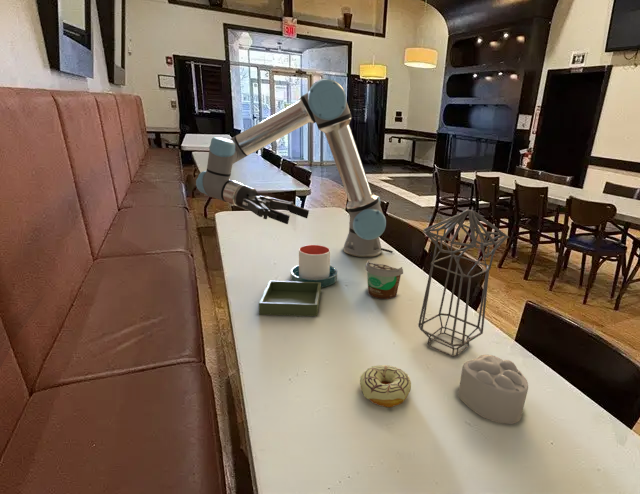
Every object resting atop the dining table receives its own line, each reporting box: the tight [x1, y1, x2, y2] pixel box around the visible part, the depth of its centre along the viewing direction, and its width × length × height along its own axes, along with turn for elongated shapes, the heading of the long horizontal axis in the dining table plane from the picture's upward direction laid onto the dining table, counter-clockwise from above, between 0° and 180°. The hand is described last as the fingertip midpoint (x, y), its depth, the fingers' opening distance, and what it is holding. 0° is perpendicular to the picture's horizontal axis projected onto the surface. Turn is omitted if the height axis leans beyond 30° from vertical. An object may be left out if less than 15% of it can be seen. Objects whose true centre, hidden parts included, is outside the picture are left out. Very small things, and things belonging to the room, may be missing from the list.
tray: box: [258, 280, 322, 317], centre depth 120 cm, size 16×16×4 cm
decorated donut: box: [359, 364, 412, 408], centre depth 85 cm, size 10×11×4 cm
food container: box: [364, 259, 404, 300], centre depth 128 cm, size 12×6×10 cm, turn 68°
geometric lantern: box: [417, 209, 510, 358], centre depth 99 cm, size 16×16×35 cm
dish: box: [289, 264, 338, 288], centre depth 137 cm, size 15×15×3 cm
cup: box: [298, 244, 331, 280], centre depth 135 cm, size 10×10×10 cm
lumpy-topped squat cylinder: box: [457, 354, 529, 425], centre depth 84 cm, size 10×13×9 cm
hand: (298, 217), depth 133 cm, fingers open, 13 cm apart
